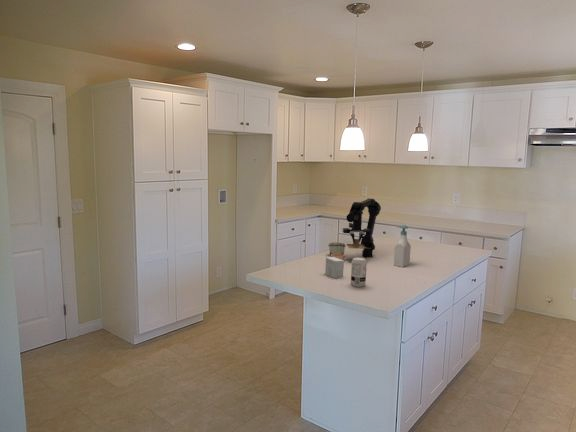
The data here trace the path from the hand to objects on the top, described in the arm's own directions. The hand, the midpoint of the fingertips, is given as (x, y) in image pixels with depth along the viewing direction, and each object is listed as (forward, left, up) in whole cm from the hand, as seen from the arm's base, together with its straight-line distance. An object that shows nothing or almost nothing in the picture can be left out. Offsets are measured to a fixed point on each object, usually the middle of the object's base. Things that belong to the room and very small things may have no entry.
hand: (356, 243), depth 288 cm
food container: (+11, -14, -13) cm, 22 cm away
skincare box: (+19, +35, -13) cm, 42 cm away
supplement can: (+8, +53, -13) cm, 55 cm away
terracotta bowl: (+12, 0, -13) cm, 18 cm away
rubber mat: (-1, 0, -13) cm, 13 cm away
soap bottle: (-30, +6, -13) cm, 33 cm away
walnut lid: (0, 0, -2) cm, 2 cm away
